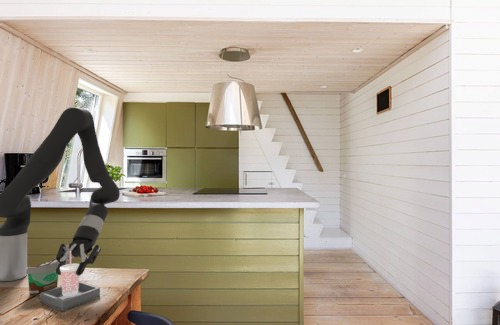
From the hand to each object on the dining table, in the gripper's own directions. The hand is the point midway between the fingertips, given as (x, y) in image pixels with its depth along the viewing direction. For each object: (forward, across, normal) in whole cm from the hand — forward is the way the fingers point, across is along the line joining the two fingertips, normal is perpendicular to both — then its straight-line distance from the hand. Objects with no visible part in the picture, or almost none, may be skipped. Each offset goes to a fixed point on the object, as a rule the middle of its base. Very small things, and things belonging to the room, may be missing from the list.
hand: (68, 274), depth 104 cm
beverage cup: (+4, 0, +6) cm, 7 cm away
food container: (+1, -12, +12) cm, 17 cm away
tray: (+5, 0, +7) cm, 9 cm away
